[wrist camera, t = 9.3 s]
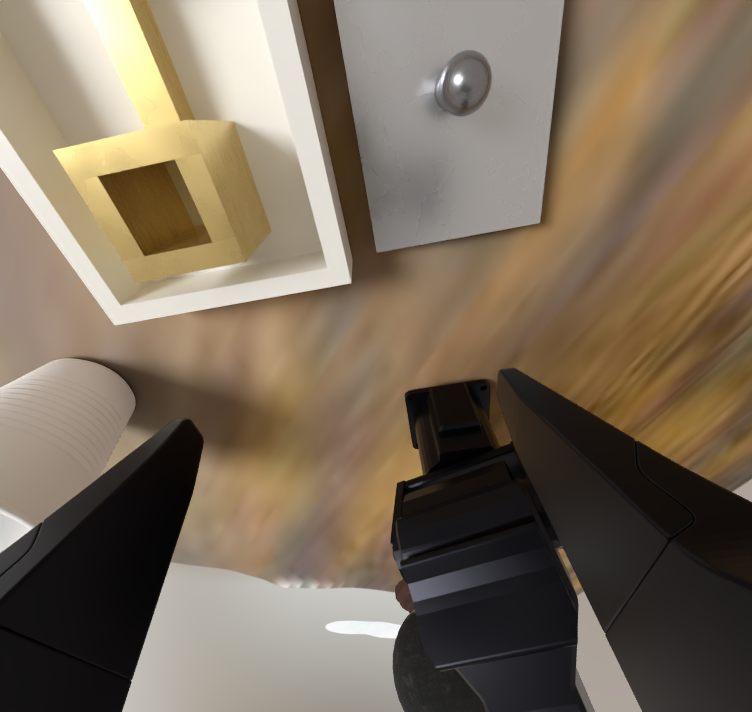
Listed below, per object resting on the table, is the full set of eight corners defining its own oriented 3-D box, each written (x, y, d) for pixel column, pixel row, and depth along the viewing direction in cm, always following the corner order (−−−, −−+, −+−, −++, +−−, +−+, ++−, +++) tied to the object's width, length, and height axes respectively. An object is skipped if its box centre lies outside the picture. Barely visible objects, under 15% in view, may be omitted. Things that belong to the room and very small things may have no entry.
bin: (352, 260, 20) (351, 283, 17) (148, 297, 21) (114, 325, 18) (236, -279, 10) (186, -439, 7) (-138, -166, 11) (-314, -268, 8)
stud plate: (532, 218, 19) (569, 239, 15) (376, 247, 19) (379, 273, 16) (586, -351, 10) (706, -603, 6) (289, -263, 10) (254, -449, 7)
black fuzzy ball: (401, 563, 43) (418, 740, 31) (495, 569, 45) (546, 737, 33) (378, 603, 50) (384, 759, 38) (460, 607, 52) (491, 756, 40)
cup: (-20, 328, 22) (-295, 475, 12) (140, 334, 22) (-13, 477, 13) (55, 433, 27) (-97, 586, 18) (180, 435, 28) (93, 584, 19)
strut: (271, 230, 18) (245, 261, 14) (185, 248, 19) (136, 282, 14) (151, -116, 11) (34, -250, 7) (20, -79, 12) (-160, -186, 8)
